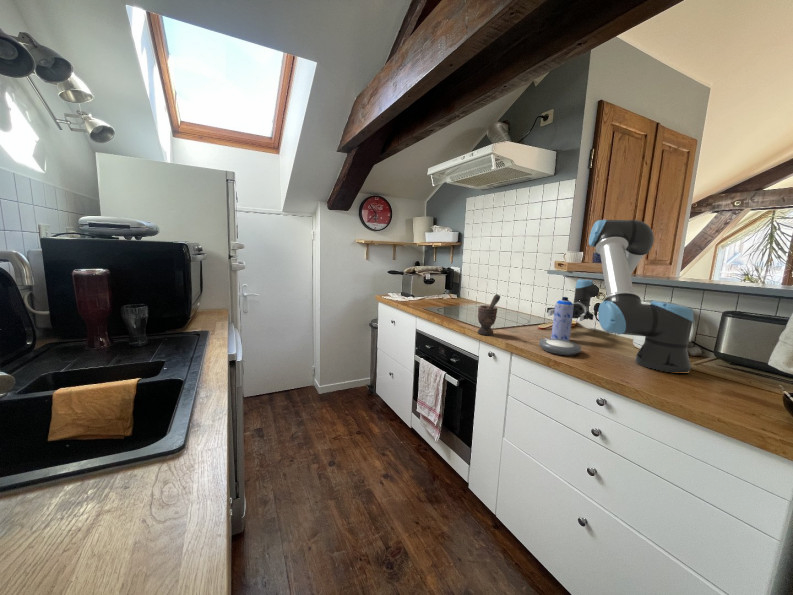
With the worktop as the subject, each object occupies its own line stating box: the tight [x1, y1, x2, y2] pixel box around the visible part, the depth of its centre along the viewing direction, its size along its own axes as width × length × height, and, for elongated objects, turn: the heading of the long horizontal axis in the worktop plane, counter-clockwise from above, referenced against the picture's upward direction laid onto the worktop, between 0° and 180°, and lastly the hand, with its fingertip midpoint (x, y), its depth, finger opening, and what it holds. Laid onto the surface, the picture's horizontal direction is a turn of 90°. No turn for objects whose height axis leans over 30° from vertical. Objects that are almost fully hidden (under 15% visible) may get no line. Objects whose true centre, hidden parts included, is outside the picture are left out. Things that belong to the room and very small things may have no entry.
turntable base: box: [542, 347, 577, 357], centre depth 125 cm, size 12×12×1 cm
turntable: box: [538, 337, 582, 354], centre depth 124 cm, size 15×15×2 cm
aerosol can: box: [550, 296, 574, 342], centre depth 140 cm, size 8×8×20 cm
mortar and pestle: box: [476, 294, 501, 336], centre depth 144 cm, size 12×9×20 cm
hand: (564, 315), depth 143 cm, fingers open, 13 cm apart
